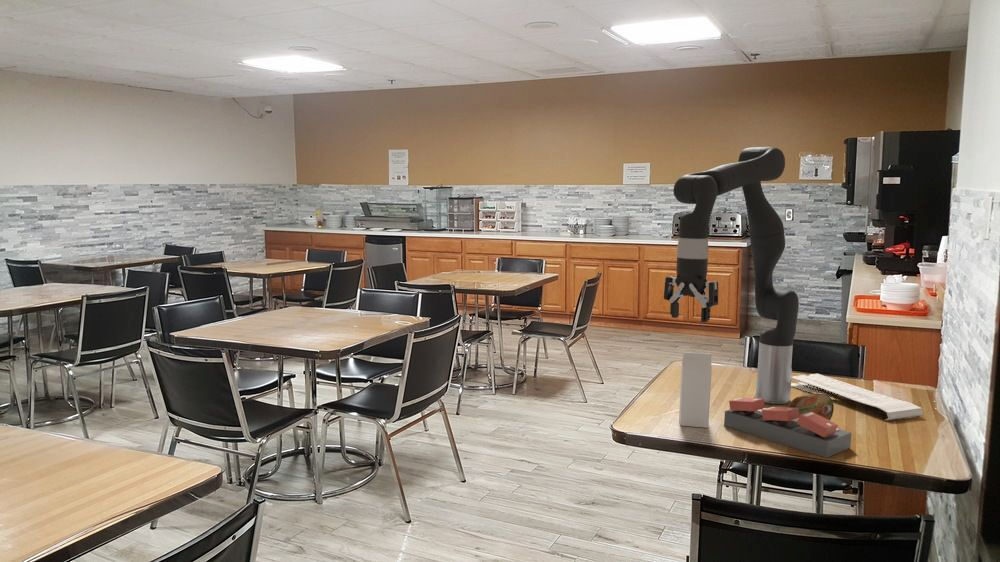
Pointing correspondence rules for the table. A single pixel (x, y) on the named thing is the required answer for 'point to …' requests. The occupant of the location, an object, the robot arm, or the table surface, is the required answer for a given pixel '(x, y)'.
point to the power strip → (788, 433)
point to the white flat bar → (859, 395)
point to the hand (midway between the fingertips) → (689, 319)
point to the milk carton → (695, 389)
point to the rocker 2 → (780, 413)
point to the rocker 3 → (817, 424)
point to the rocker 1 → (747, 404)
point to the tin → (814, 405)
